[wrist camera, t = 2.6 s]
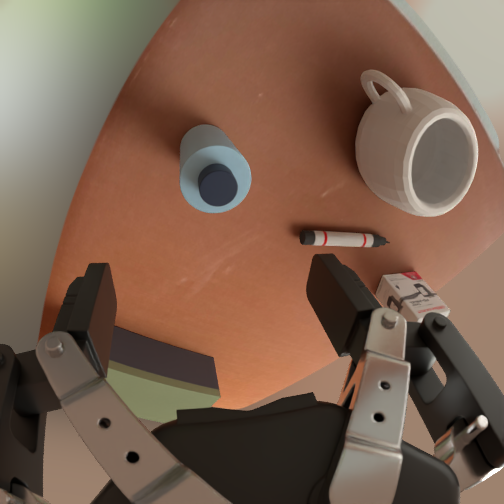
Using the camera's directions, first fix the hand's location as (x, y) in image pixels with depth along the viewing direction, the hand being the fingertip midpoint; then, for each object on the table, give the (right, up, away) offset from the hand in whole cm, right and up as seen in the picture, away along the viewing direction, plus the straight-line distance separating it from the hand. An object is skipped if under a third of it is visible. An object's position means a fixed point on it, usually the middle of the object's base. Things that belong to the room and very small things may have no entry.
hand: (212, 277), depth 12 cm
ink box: (+28, -5, +41) cm, 50 cm away
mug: (+20, +18, +25) cm, 37 cm away
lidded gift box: (-18, -17, +37) cm, 45 cm away
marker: (+15, +3, +33) cm, 36 cm away
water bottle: (-4, +13, +22) cm, 25 cm away
